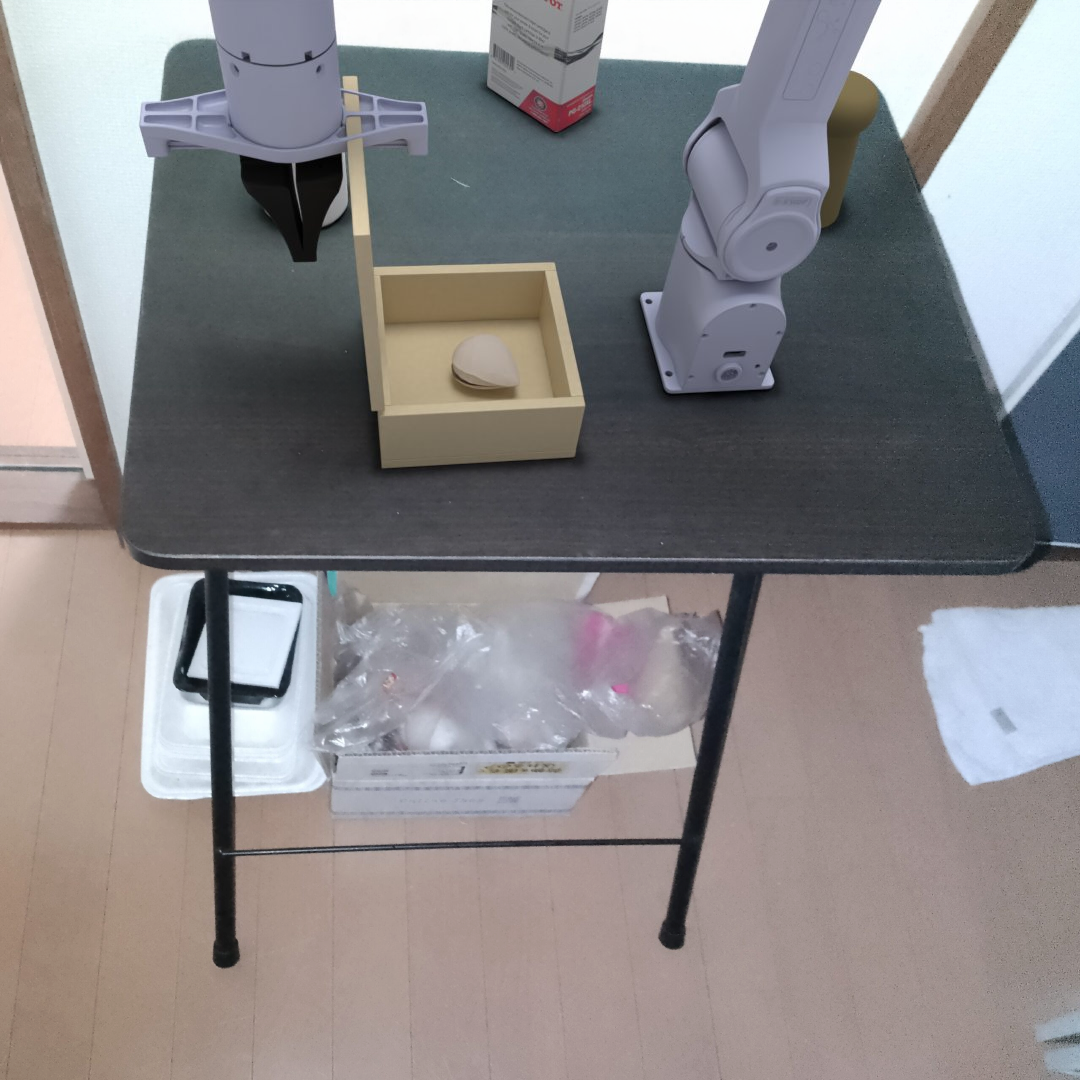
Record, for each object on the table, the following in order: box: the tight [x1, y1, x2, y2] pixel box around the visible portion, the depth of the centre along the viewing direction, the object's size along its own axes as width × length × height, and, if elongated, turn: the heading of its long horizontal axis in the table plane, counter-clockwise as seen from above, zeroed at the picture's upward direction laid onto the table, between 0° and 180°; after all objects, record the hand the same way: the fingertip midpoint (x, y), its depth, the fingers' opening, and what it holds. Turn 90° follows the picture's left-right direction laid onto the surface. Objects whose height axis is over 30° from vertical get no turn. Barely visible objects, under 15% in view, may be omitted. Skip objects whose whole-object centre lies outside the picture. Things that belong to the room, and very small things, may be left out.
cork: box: [820, 70, 880, 229], centre depth 77 cm, size 6×6×11 cm
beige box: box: [373, 261, 586, 469], centre depth 65 cm, size 13×13×5 cm
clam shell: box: [451, 334, 520, 389], centre depth 66 cm, size 4×5×2 cm
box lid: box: [341, 75, 385, 412], centre depth 56 cm, size 13×13×1 cm
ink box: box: [486, 0, 609, 133], centre depth 81 cm, size 8×5×12 cm, turn 47°
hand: (304, 250), depth 59 cm, fingers closed
